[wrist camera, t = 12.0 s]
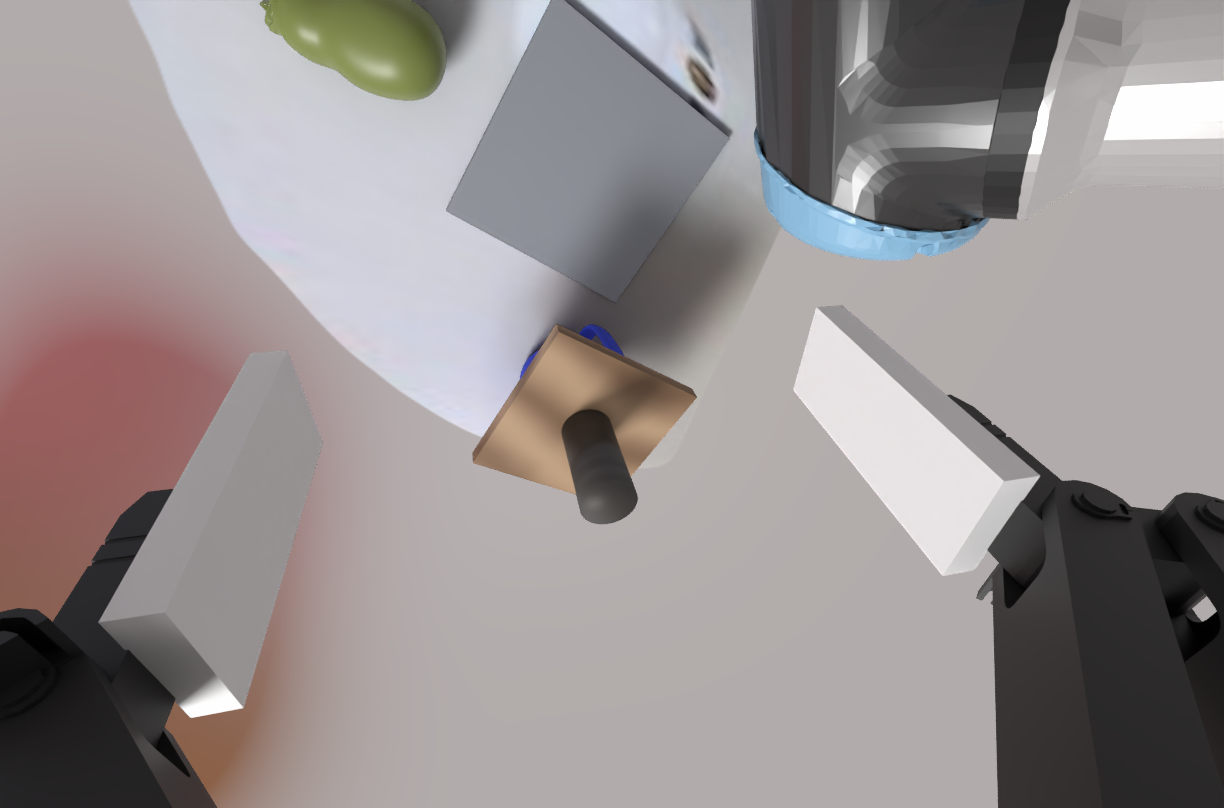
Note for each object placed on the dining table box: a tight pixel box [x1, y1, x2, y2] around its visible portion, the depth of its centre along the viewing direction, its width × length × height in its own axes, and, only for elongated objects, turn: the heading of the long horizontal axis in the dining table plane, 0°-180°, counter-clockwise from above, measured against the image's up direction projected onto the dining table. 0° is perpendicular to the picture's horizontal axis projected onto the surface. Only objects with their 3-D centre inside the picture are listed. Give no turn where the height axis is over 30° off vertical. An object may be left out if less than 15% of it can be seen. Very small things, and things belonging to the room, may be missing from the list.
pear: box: [260, 0, 446, 101], centre depth 33 cm, size 6×5×10 cm
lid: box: [473, 324, 697, 524], centre depth 41 cm, size 13×13×9 cm
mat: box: [446, 0, 730, 303], centre depth 42 cm, size 16×16×1 cm
